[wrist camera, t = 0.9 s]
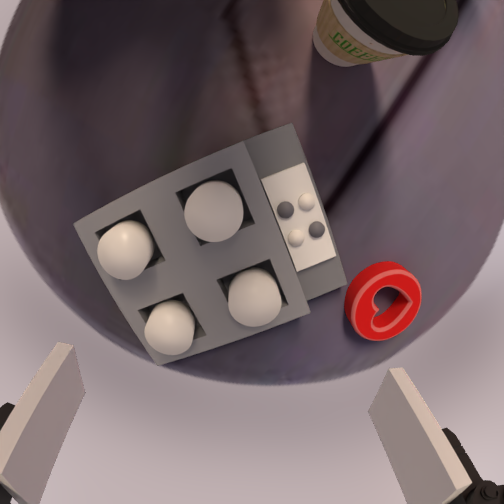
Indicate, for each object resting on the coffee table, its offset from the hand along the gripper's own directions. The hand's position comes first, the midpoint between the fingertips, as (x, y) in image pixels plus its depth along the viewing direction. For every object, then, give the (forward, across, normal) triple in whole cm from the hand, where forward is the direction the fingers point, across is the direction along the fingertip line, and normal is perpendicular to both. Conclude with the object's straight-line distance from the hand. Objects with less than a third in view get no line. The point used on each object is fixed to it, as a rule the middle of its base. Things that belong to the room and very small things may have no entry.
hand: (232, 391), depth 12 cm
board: (+23, -1, -2) cm, 23 cm away
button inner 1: (+19, -10, -1) cm, 21 cm away
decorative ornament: (+23, +19, -6) cm, 31 cm away
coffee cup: (+23, +9, +22) cm, 33 cm away
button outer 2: (+19, +3, -5) cm, 20 cm away
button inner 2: (+19, -2, +3) cm, 19 cm away
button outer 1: (+19, -5, -9) cm, 22 cm away
